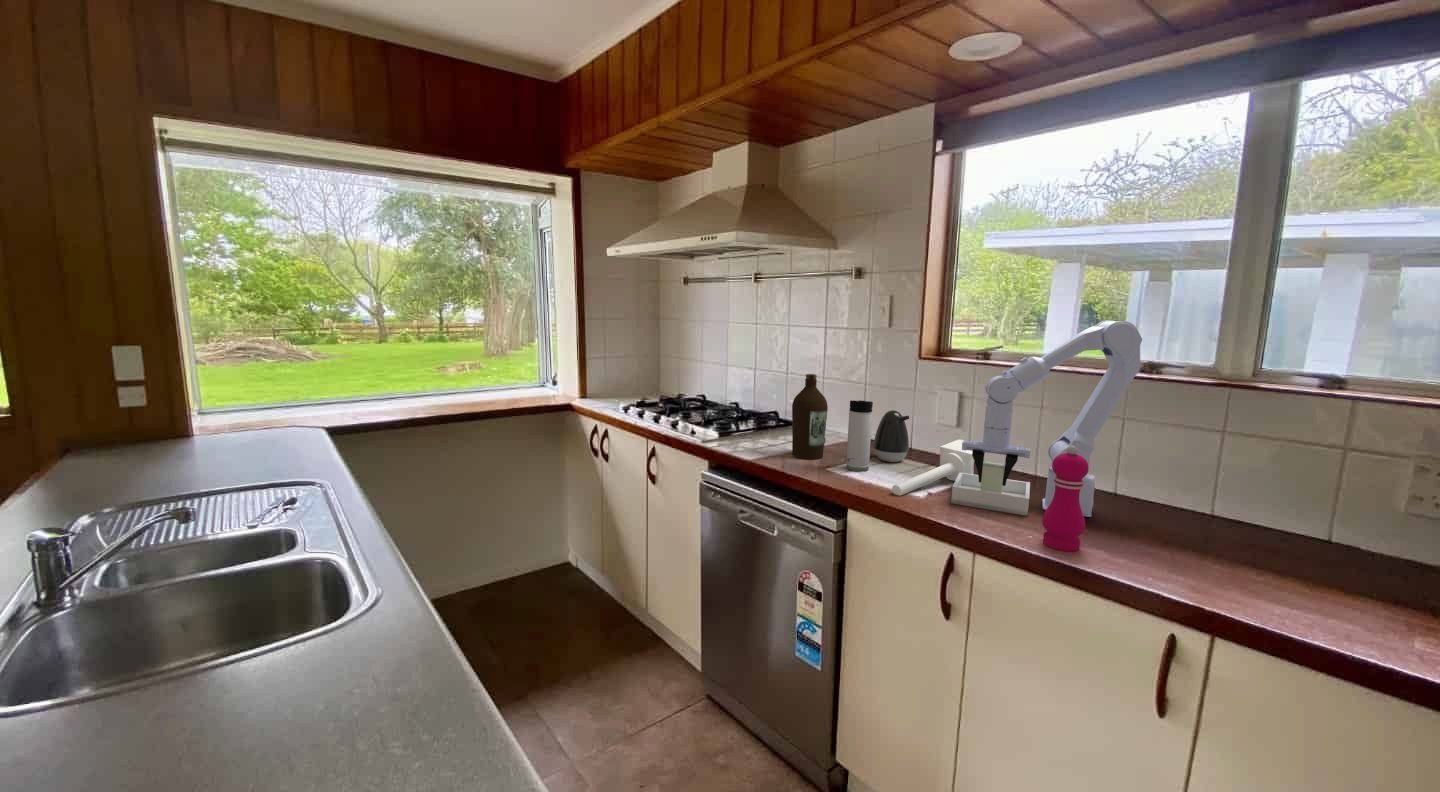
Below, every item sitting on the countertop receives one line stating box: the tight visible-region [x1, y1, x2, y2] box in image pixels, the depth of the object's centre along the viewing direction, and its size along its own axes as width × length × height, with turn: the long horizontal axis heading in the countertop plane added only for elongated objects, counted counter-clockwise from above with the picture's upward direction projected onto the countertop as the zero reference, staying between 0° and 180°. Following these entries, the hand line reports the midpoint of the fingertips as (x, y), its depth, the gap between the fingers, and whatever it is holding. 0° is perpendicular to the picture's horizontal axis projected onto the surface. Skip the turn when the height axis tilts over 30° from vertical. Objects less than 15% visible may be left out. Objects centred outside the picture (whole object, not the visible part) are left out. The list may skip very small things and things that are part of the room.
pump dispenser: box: [873, 409, 910, 463], centre depth 173 cm, size 10×10×15 cm
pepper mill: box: [1041, 446, 1090, 553], centre depth 112 cm, size 7×7×20 cm
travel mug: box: [845, 399, 873, 473], centre depth 163 cm, size 6×7×20 cm
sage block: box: [981, 461, 1005, 493], centre depth 138 cm, size 4×4×6 cm
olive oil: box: [791, 373, 828, 460], centre depth 176 cm, size 11×11×25 cm
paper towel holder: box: [891, 439, 975, 497], centre depth 151 cm, size 9×9×32 cm
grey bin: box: [950, 472, 1031, 517], centre depth 139 cm, size 16×14×4 cm
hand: (992, 482), depth 139 cm, fingers closed on sage block, 4 cm apart
